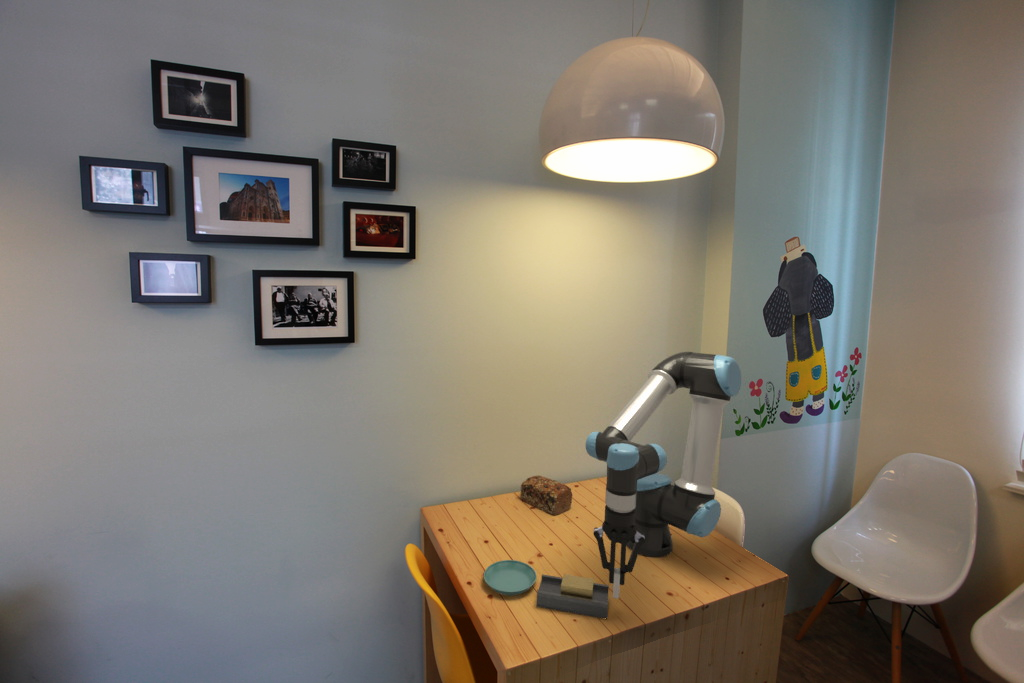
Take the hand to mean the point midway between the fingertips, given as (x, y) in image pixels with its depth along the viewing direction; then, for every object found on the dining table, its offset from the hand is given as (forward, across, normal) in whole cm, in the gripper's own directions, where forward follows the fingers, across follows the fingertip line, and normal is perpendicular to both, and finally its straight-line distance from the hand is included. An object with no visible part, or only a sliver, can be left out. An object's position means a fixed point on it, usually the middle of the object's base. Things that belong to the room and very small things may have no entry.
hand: (615, 594), depth 118 cm
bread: (+5, +27, -56) cm, 62 cm away
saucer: (+5, +29, -4) cm, 29 cm away
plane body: (+4, +11, 0) cm, 12 cm away
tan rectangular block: (+1, +10, 0) cm, 10 cm away
